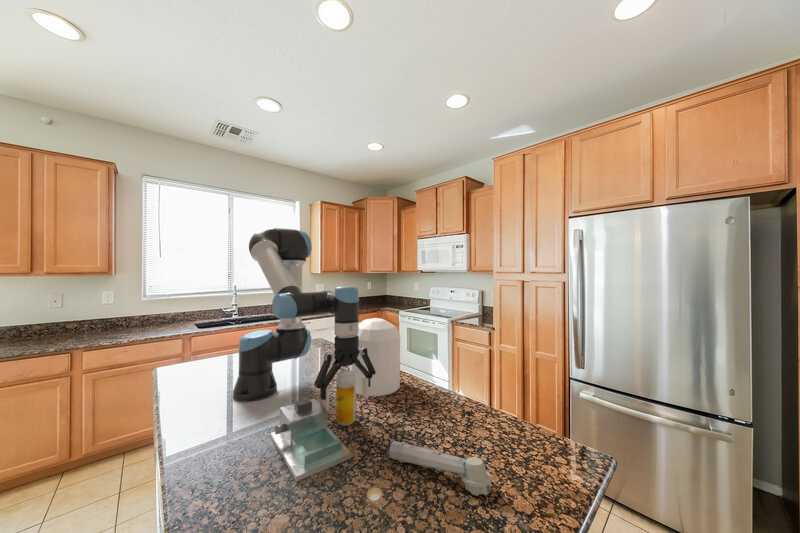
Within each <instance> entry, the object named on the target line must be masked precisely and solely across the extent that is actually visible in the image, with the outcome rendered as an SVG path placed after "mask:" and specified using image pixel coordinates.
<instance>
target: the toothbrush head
mask: <svg viewBox="0 0 800 533" xmlns="http://www.w3.org/2000/svg"><path fill="white" fill-rule="evenodd" d="M386 452H387V454H386V455H387V457H388V459H391V460H394V461H398V462H400V463H401V464H403V463H408V464H413V465H418V466H423V467H427V468H431V469H437V470H441V471H446V472H450V473H455V474H459V475H461V479H462V481H463V483H464V487H465V491H468V492H469V493H471V495H473V496H477V497H478V496H479V495H483V496H488V495H489V494H490V493H491V491H492V486H491V483H492V480H493V477H492V475H491V474H490V472H489V471H487V469H486V468H487V467H486V465H485V463H484V461H483V460H482V459H481V458H479V457H475V456H472V457H471V456H469V457H468V458H463V457H459V456H456V455H451V454H448V453H443V452H440V451H436V450H432V449H429V448H424V447H420V446H418V445H414V444H413V445H412V444H410V443H407V442H405V441H404V440H403V441H401V442H400V441H396V440H395V441H394V440H391V441H389V443H388V446H387V450H386Z"/></svg>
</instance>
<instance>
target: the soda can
mask: <svg viewBox="0 0 800 533" xmlns="http://www.w3.org/2000/svg"><path fill="white" fill-rule="evenodd" d="M337 373H338V374H337V376H336V382H335V384H336V391H335V392H336V396H335V400H336V401H335V403H336V404H335V405H336V406H335V407H336V408H335V416H336V417H335V418H336V419H335V420H336V422H337V424H338V425H339V426H344V427H346V426H351V425H353V423H354V422H355V421H356V417H357V411H356V410H357V394H356V375H355V372H353V371H349V370H343V371H339V372H337Z"/></svg>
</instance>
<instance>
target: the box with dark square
mask: <svg viewBox="0 0 800 533" xmlns="http://www.w3.org/2000/svg"><path fill="white" fill-rule="evenodd" d="M270 438H271V440H272V442H273V444H274V446H275V447H276V449H277V450H278V452H279V454H280V456H281V458H282V459H283V461H284V463H285V464H286V466H287V468H288V470H289V471H290V473H291V475H292V477H293V479H294V480H295V482H296V483H297V482H299V481H302V480H304V479H306V478H308V477H311V476H313V475H315V474H318V473H320V472H322V471H324V470H327V469H330V468H332V467H334V466H337V465H338V464H340V463H343V462H345V461H348V460H350V459H352V458H353V452H352V451H351V450H350V449H349V447H347V446H346V445H345V444H344V443H343V441H342V440H341V439H340V438H339V437H338V436H337V435H336V434H335V433H334V432H333V431H332V430H331V429H330V428H329V427H328V411H327V410H326V409H325V408H324V407H323V405H321V403H320V402H318V401H317V400H316V399H315V398H312V399H310V398H303V399H300V400H297V401H294V402H293V404H289V405H285V406H281V407H279V424H278V425H276V426H275V425H274V431H273V432H270Z"/></svg>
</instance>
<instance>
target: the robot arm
mask: <svg viewBox="0 0 800 533" xmlns="http://www.w3.org/2000/svg"><path fill="white" fill-rule="evenodd" d="M312 249H313V248H312V240H311V238H310V236H309V235H308V233H307V232H306V231H303V230H300V229H299V230H298V229H290V228H280V227H269V226H268V227H264V228H261V229H260V228H259V230H257V231H256V232H255V233H254V234H253V235H252V236H251V237H250V240H249V243H248V250H249V254H250V256H251V257H252V259H253V260H254V261H255V262H257V264H258V265H259V267H260V269H261V272H262V273H263V275H264V277H265V279H266V280H267V283H268V285H269V286H270V288H271V291H272V293H273V295H274V297H272V298H273V299H272V301H271V302H272V303H271V308H272V313H273V315H274V317H275V318H277V319H280V320H279V324H278V325H277V326H276V327H275V332H274V331H273V330H271V329H260V330H255V331H251V332H248V333H245V334H244V335H242V336H241V337H240V339H239V343H238V344H239V345H238V349H237V350H238V376H237V379H236V382H235V385H234V388H233V391H232V398H233V399H234V400H235V401H237V402H247V403H249V402H255V401H260V400H264V399H267V398H270V397H271V396H273V395H275V393H277V390H278V384H277V383H278V382H277V381H276V377H275V375H274V371H273V363H274V364H275V363H279V362H283V361H288V360H293V359H294V360H296V359H298V358H302V357H304V356H306V355H307V354H308V353H309V351H310V348H311V345H312V335H311V331H310V330H309V329H308V328H307V327H306V326H307V325H306V324H305V323H304V322H303V317H311V316H313V317H314V316H322V315H334V336H335V337H334V353H328V352H326V353H325V354H324V357H323V359H324V360H323V363H322V365H321V367H320V369H319V372H318V374H317V376H316V379H315V381H314V384H313V386H314V387H315V388H317V389H319V390H320V392H319V393H320V394H319V396H320V397H319V398H320V399H321V400H322V407H324V408H325V409H326V410H327V412H329V411H330V388H329V387H328V386H329V385H330V383H331V382H332V380H333V379H334V377H335V376H336V375H337V373H338V371H339V370H340V369H341V368H342V367H347V366H350V365H353V363H354V364H355V365H356V366H357V367H358V368H359V370H360V371H361V372H362V373H363V374H364V375H365V376H363V377H362V395H361V396H362V397H361V398H364V399H365V400H368V399H369V396H368V387H370V378H372V375H374V374H375V373H376V371H375V369H374V367H373V365H372V363H371V361H370V359H369V356H368V353H367V348H364V347H361V348H360V349H358V346H359V336H358V335H357V334H358V333H359V323H360V321H359V320H360V319H359V316H360V315H359V313H360V312H359V311H360V310H359V308H360V307H359V306H360V297H359V296H360V295H359V289H358V287H357V286H349V285H348V286H347V285H345V286H336V287H335V288H334V291H331V290H322V291H315V292H314V291H313V292H303V266H304V264H305V263H307V258H309V257H310V256H311V253H312ZM359 353H360V355H361V356H362V358H363V360H364V362H365V365H366V367H367V369H368V371H367V369H366V368H365V367H364V366H363V365H362V364H361V363H360V361H359V360H358V359H357V357H358V355H359ZM332 362H333V363H332ZM331 364H332V365H331ZM330 366H331V367H330Z"/></svg>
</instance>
